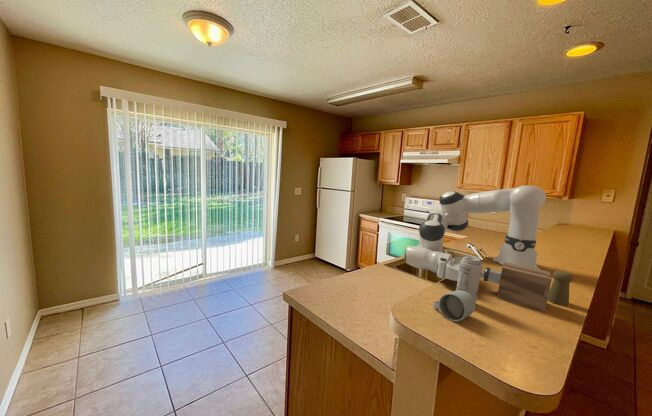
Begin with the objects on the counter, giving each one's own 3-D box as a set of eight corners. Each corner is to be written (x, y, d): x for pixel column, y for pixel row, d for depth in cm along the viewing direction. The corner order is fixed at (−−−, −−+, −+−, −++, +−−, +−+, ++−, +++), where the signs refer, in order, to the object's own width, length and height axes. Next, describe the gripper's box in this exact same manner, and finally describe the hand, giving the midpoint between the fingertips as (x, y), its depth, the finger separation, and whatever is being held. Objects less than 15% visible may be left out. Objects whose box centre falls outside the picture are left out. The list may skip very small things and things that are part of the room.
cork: (573, 307, 90) (580, 276, 89) (552, 304, 91) (559, 273, 90) (561, 299, 96) (567, 270, 95) (542, 296, 97) (548, 267, 96)
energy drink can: (478, 308, 84) (486, 262, 82) (459, 306, 85) (466, 260, 82) (469, 299, 90) (476, 256, 88) (451, 297, 91) (458, 254, 88)
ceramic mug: (475, 318, 78) (479, 293, 77) (463, 327, 73) (467, 300, 72) (440, 303, 86) (443, 280, 85) (427, 310, 81) (430, 285, 80)
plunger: (484, 278, 101) (487, 265, 100) (526, 289, 93) (529, 275, 93) (483, 282, 97) (485, 269, 96) (526, 294, 89) (529, 279, 89)
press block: (498, 289, 100) (504, 261, 98) (543, 302, 92) (549, 271, 91) (496, 298, 93) (502, 267, 91) (544, 312, 85) (551, 279, 84)
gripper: (449, 265, 115) (486, 275, 107) (436, 278, 99) (479, 291, 91) (451, 251, 114) (489, 259, 106) (439, 262, 98) (482, 273, 90)
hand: (484, 274), depth 98 cm, fingers closed, pressing on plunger
